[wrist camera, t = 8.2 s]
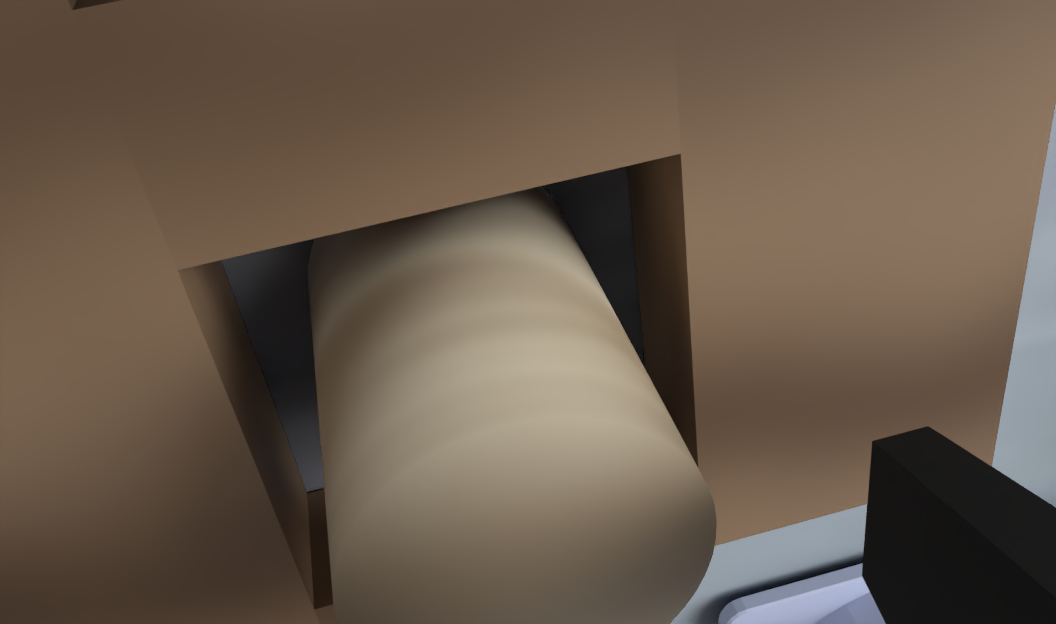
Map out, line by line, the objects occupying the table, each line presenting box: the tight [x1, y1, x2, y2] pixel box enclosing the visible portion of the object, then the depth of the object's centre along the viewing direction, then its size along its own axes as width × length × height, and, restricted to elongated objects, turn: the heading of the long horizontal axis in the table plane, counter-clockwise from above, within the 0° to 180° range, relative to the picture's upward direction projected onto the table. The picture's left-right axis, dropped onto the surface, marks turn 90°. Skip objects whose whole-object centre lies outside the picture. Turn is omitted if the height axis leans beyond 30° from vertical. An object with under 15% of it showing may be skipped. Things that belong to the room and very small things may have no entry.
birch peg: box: [308, 186, 717, 624], centre depth 13 cm, size 4×4×6 cm
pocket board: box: [0, 0, 1056, 624], centre depth 10 cm, size 17×16×6 cm
